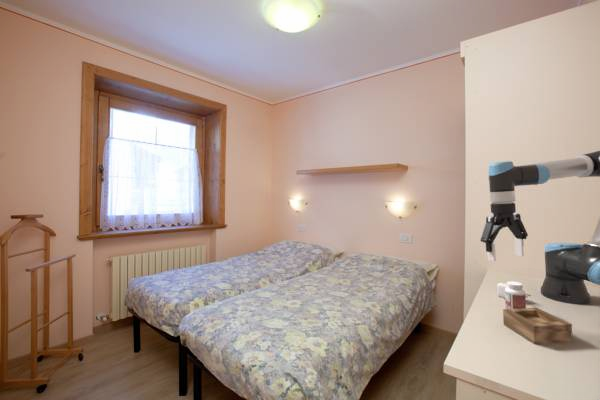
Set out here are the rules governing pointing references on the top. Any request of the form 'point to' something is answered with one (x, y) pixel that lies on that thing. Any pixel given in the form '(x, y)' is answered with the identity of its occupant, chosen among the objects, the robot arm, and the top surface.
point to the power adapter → (503, 290)
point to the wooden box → (537, 325)
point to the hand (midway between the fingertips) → (505, 257)
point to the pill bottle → (515, 295)
